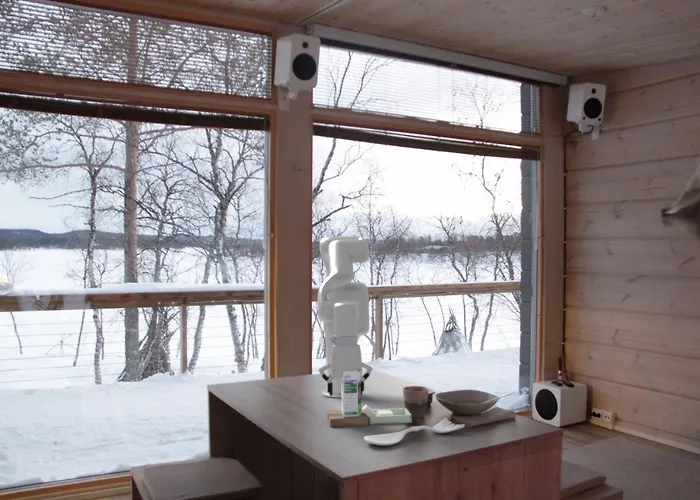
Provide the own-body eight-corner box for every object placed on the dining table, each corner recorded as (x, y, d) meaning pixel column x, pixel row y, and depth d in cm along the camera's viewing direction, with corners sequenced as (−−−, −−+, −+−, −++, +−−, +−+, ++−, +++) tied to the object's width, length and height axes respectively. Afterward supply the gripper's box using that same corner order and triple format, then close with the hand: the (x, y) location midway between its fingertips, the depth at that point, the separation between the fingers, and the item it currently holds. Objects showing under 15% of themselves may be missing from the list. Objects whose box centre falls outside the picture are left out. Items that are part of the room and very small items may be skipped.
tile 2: (390, 409, 207) (390, 415, 207) (376, 410, 206) (376, 416, 206) (393, 413, 203) (393, 419, 203) (379, 414, 202) (379, 420, 202)
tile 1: (361, 408, 204) (365, 404, 204) (371, 417, 205) (375, 413, 205) (364, 412, 200) (368, 408, 200) (374, 421, 200) (378, 417, 200)
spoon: (465, 434, 189) (465, 423, 189) (374, 452, 173) (374, 440, 173) (446, 427, 197) (446, 416, 197) (358, 443, 181) (358, 431, 181)
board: (327, 418, 207) (327, 410, 207) (363, 416, 208) (363, 409, 208) (330, 427, 197) (330, 419, 197) (368, 425, 198) (368, 417, 198)
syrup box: (343, 417, 198) (342, 371, 198) (341, 412, 204) (340, 367, 204) (361, 417, 199) (360, 371, 199) (358, 412, 205) (358, 367, 204)
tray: (365, 417, 208) (365, 409, 208) (405, 415, 210) (405, 407, 209) (369, 424, 199) (369, 416, 199) (412, 423, 201) (411, 415, 201)
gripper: (319, 343, 197) (319, 398, 197) (374, 341, 200) (374, 396, 200) (317, 339, 205) (317, 392, 205) (370, 338, 207) (370, 390, 207)
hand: (345, 394), depth 202 cm, fingers open, 9 cm apart
